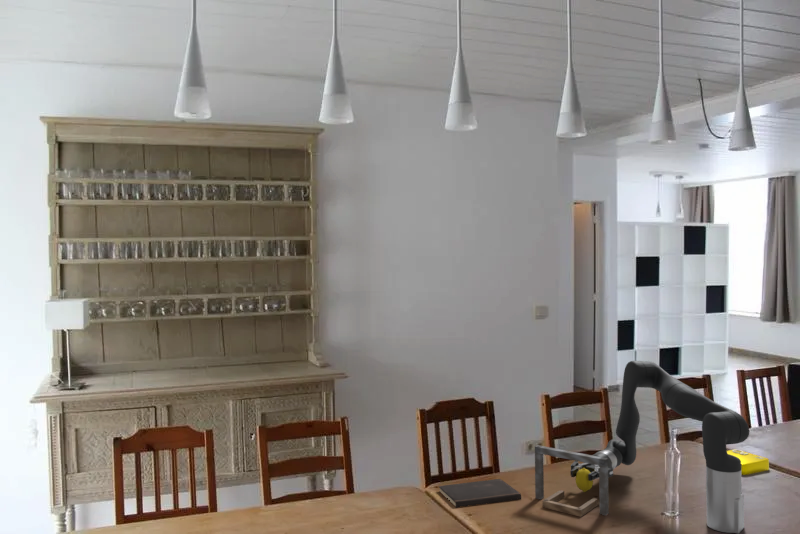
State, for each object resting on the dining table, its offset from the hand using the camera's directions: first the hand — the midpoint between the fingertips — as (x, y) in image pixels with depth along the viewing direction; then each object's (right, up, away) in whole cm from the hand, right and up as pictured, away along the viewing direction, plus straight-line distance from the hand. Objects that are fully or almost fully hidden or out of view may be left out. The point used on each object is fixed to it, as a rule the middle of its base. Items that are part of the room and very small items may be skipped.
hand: (580, 475), depth 212 cm
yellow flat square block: (+68, -7, +31) cm, 75 cm away
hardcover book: (-32, -9, +5) cm, 34 cm away
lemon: (+2, -6, +2) cm, 7 cm away
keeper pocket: (-5, -8, -6) cm, 11 cm away
